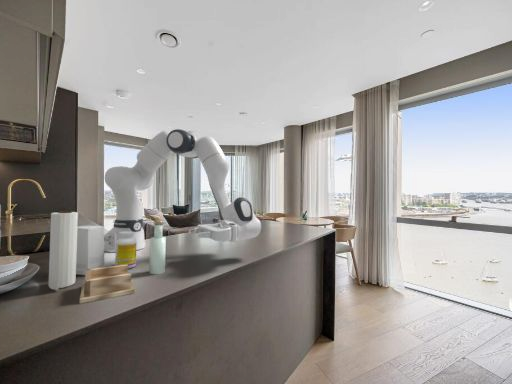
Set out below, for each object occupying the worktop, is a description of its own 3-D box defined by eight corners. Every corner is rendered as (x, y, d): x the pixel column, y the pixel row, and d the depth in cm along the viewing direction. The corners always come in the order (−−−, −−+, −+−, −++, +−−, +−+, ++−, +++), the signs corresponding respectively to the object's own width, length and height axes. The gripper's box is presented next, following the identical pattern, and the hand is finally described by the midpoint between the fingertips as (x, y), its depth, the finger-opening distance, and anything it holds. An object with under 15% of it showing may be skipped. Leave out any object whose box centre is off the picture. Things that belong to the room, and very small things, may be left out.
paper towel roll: (62, 280, 71) (65, 210, 71) (80, 281, 70) (83, 211, 70) (38, 290, 63) (40, 212, 64) (58, 291, 63) (60, 213, 63)
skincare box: (104, 270, 80) (106, 225, 80) (86, 276, 74) (88, 228, 74) (86, 267, 83) (88, 224, 83) (67, 273, 76) (68, 226, 76)
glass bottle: (146, 272, 79) (147, 220, 79) (157, 268, 84) (159, 219, 84) (156, 275, 77) (158, 222, 77) (167, 271, 82) (169, 220, 82)
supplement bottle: (138, 267, 85) (139, 232, 85) (118, 271, 80) (119, 234, 80) (132, 263, 89) (133, 230, 90) (112, 266, 85) (114, 231, 85)
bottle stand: (129, 278, 73) (130, 263, 73) (134, 293, 64) (134, 274, 64) (82, 286, 67) (83, 269, 67) (79, 303, 57) (80, 283, 57)
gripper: (215, 220, 104) (185, 222, 96) (238, 225, 87) (203, 228, 79) (215, 234, 104) (185, 237, 96) (238, 242, 87) (203, 246, 79)
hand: (193, 233), depth 87 cm, fingers open, 8 cm apart
